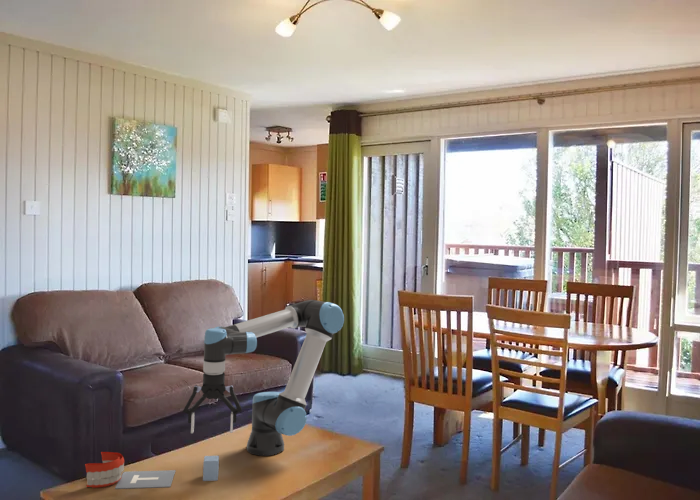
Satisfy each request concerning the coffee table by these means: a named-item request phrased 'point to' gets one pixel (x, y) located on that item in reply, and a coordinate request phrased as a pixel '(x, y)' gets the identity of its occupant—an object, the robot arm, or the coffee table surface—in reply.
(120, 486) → the letter card
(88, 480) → the toy
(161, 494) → the coffee table surface
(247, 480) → the coffee table surface
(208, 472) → the block
